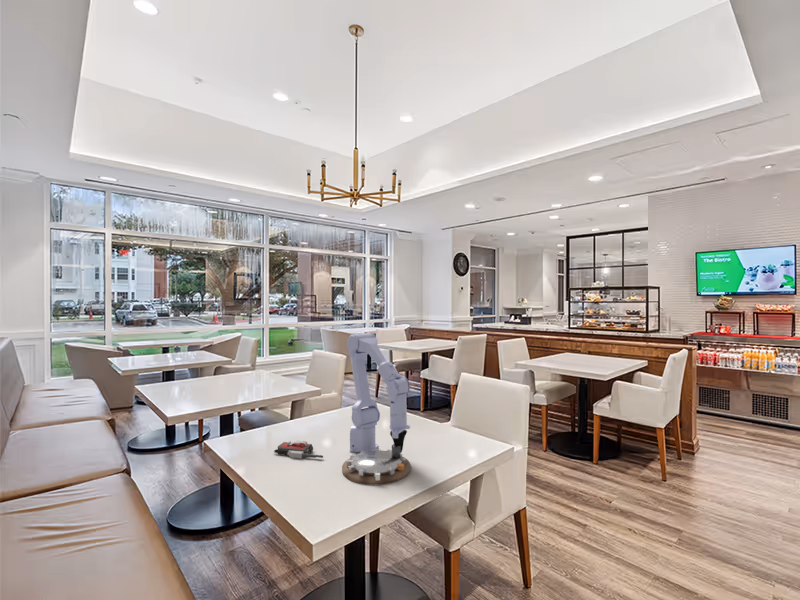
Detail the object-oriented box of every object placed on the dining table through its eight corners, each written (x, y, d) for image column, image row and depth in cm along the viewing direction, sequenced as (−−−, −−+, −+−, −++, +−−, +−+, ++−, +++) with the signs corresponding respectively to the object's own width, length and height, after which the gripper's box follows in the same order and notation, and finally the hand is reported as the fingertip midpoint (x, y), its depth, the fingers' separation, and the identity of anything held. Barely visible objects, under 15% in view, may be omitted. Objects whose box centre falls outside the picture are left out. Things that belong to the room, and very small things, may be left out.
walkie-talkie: (270, 457, 146) (321, 461, 142) (270, 445, 146) (321, 449, 142) (282, 448, 155) (331, 452, 151) (282, 437, 155) (331, 440, 151)
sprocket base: (332, 481, 126) (332, 472, 126) (353, 453, 148) (353, 445, 148) (404, 487, 122) (404, 477, 122) (414, 457, 144) (414, 449, 144)
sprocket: (338, 474, 127) (338, 457, 127) (357, 451, 147) (357, 436, 147) (399, 479, 123) (399, 461, 123) (410, 455, 143) (410, 439, 143)
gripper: (406, 419, 131) (407, 461, 131) (412, 407, 146) (412, 445, 146) (385, 418, 132) (386, 459, 133) (393, 407, 147) (393, 444, 147)
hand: (398, 452), depth 139 cm, fingers closed, pressing on sprocket
